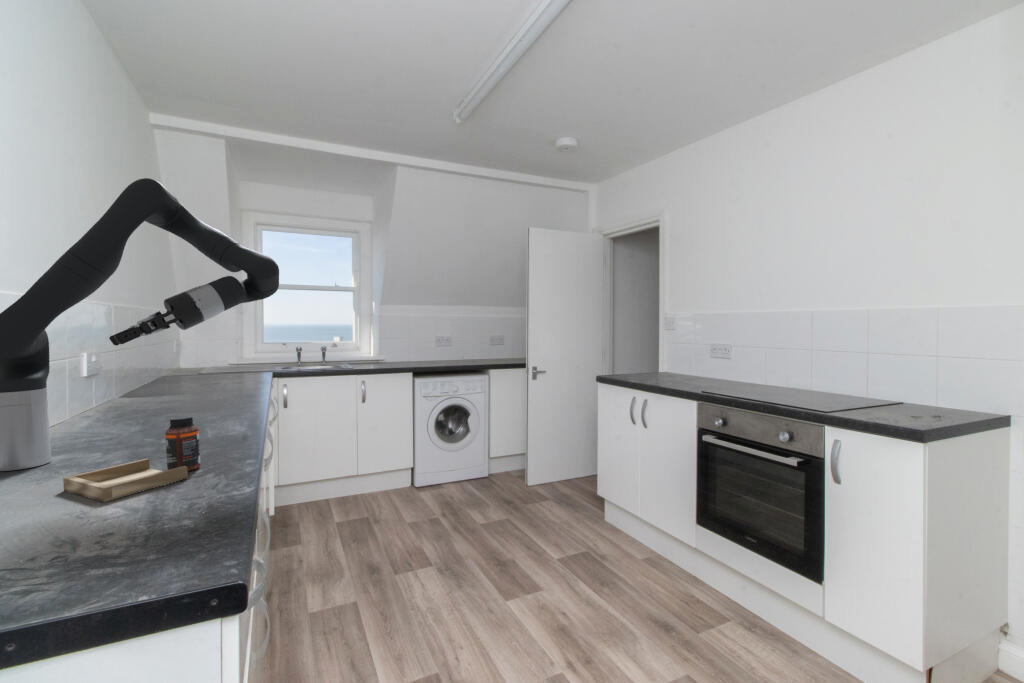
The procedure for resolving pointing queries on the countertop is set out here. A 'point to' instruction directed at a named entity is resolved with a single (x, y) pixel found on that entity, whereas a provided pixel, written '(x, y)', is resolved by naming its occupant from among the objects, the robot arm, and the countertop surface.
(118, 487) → the beech tray
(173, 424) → the supplement bottle
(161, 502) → the countertop surface
